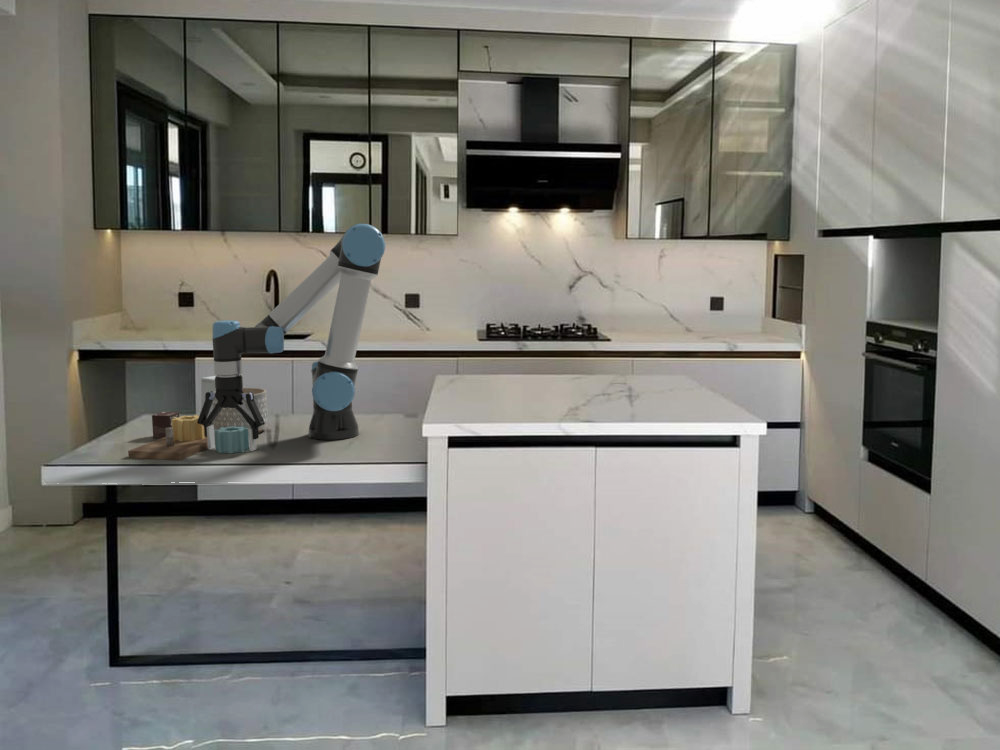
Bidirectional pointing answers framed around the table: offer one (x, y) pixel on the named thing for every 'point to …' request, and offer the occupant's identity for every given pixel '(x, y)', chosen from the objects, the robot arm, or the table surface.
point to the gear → (232, 439)
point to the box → (162, 423)
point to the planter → (235, 418)
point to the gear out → (187, 428)
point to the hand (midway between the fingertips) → (232, 449)
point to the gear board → (169, 448)
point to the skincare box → (207, 389)
